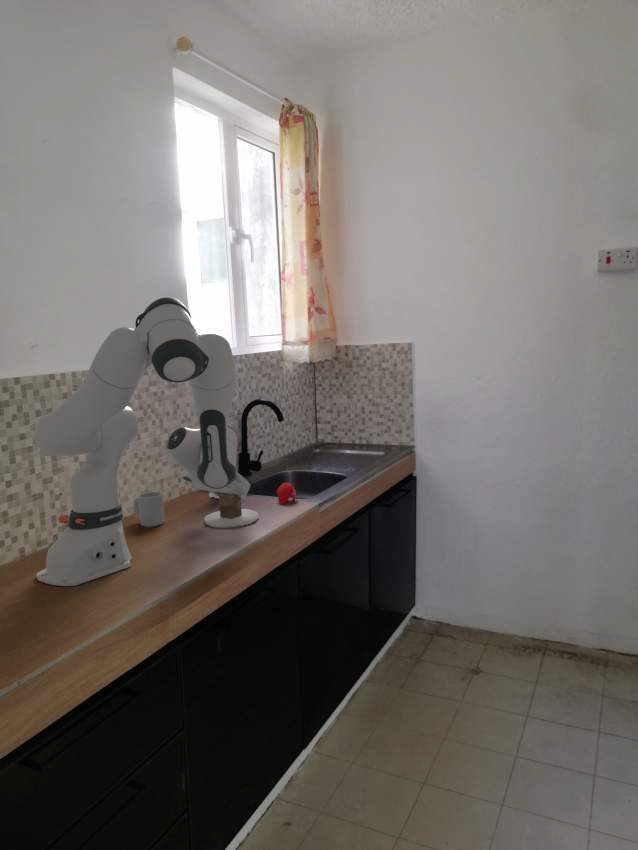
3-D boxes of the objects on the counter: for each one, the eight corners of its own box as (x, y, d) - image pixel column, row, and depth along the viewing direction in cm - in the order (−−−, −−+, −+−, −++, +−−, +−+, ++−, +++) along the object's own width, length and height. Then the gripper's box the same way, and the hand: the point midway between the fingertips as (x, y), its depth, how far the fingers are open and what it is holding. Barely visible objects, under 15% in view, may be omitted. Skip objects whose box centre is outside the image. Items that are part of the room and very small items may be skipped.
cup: (155, 528, 184) (152, 498, 183) (127, 525, 188) (124, 496, 186) (169, 520, 190) (167, 492, 189) (142, 518, 194) (140, 490, 193)
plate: (236, 530, 177) (236, 526, 177) (193, 524, 185) (193, 520, 185) (268, 515, 191) (268, 511, 191) (227, 510, 199) (226, 506, 199)
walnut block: (231, 519, 185) (229, 492, 184) (220, 517, 188) (218, 491, 186) (241, 515, 189) (240, 489, 188) (230, 513, 191) (229, 487, 190)
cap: (280, 488, 212) (271, 482, 207) (296, 483, 210) (287, 477, 205) (283, 510, 208) (274, 505, 203) (299, 505, 206) (291, 499, 201)
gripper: (239, 464, 174) (263, 490, 184) (186, 458, 185) (210, 484, 195) (230, 483, 171) (254, 509, 181) (176, 476, 182) (201, 501, 192)
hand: (231, 496), depth 188 cm, fingers open, 8 cm apart
